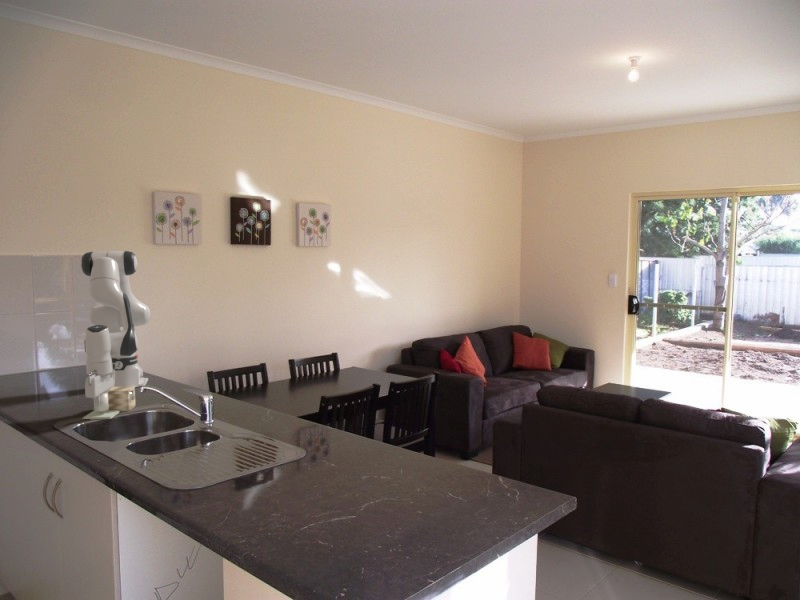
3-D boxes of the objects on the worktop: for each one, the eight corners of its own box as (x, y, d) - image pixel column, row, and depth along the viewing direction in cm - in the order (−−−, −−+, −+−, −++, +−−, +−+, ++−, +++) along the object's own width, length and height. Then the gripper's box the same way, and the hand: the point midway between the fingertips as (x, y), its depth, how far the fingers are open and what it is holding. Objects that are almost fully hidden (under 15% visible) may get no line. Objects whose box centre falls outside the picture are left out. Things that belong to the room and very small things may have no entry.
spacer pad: (93, 412, 243) (93, 410, 243) (120, 412, 244) (119, 410, 244) (82, 419, 233) (82, 417, 233) (110, 418, 234) (110, 416, 234)
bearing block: (102, 412, 245) (101, 391, 244) (110, 406, 252) (109, 386, 252) (128, 411, 245) (127, 390, 245) (135, 406, 253) (134, 386, 253)
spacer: (97, 408, 241) (96, 392, 240) (110, 407, 241) (109, 392, 241) (92, 411, 236) (91, 396, 235) (105, 411, 236) (105, 395, 236)
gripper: (97, 373, 227) (99, 410, 228) (117, 363, 248) (119, 397, 249) (79, 374, 227) (81, 411, 228) (101, 363, 247) (102, 398, 248)
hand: (101, 404), depth 238 cm, fingers closed on spacer, 5 cm apart
